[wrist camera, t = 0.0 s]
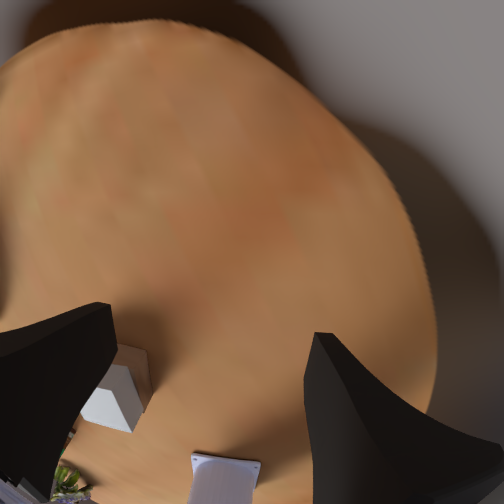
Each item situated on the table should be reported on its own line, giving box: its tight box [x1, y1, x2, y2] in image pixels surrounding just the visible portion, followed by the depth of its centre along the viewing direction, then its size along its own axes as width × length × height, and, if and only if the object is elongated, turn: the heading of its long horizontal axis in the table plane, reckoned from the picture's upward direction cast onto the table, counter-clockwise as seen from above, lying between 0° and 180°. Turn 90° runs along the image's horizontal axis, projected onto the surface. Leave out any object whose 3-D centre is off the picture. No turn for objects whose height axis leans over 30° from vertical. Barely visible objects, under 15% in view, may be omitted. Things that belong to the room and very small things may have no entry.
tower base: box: [112, 343, 153, 413], centre depth 22 cm, size 6×6×3 cm
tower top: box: [80, 364, 144, 433], centre depth 19 cm, size 5×5×3 cm
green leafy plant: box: [50, 465, 93, 504], centre depth 32 cm, size 11×11×12 cm
